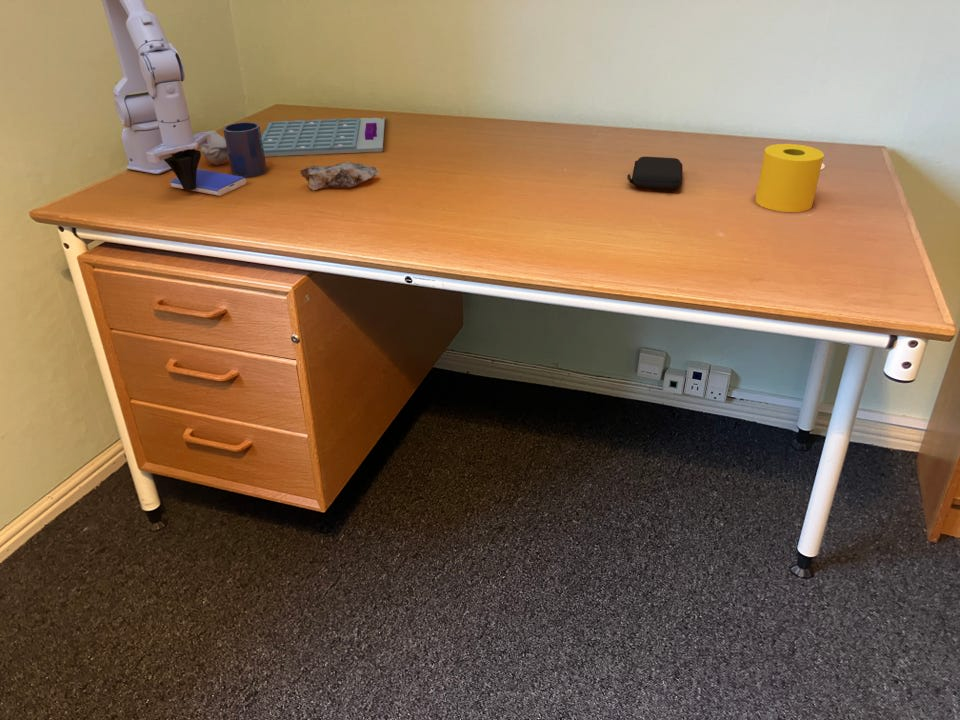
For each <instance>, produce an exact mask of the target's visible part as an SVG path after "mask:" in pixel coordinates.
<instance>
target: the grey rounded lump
mask: <svg viewBox="0 0 960 720" xmlns="http://www.w3.org/2000/svg"><path fill="white" fill-rule="evenodd" d="M205 132H206V133H210V137H211V143H209V144H206V143H205V144H203V145H200V146H198V148H199V149H200V153H201V154H203V156H204V158H205V159H206V160H207V162H209V163H210V164H212V165H214V166H215V165H216V166H220V165H223V164H225V163H226V162H227V161H228V160H229V156H228V151H227V146H226V141H225V137H224V136H222V135H220V134H219V133H218V132H217V131H216V130H208V131H205Z"/></svg>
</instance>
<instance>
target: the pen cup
mask: <svg viewBox="0 0 960 720" xmlns="http://www.w3.org/2000/svg"><path fill="white" fill-rule="evenodd" d="M222 130H223V135H224V136H223V137H224V138H225V141H226V146H227V151H228V156H229V157H228V161H229V166H230V171H231V175H234V176H240V177H245V178H256V177H259V176H263V175H264V174H266V173H267V172H268V167H267V163H266V162H267V161H266V157H265V155H264V149H263V143H262V132H261V126H260V124H259V123H257V122H252V121H242V122H241V121H240V122H235V123H230V124H227V125H225V126H224V127H222Z"/></svg>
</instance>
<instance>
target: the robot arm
mask: <svg viewBox="0 0 960 720" xmlns="http://www.w3.org/2000/svg"><path fill="white" fill-rule="evenodd" d="M101 2H102V7H103V10H104V13H105V16H106V20H107V24H108V28H109V32H110V35H111V37H112V41H113V45H114V49H115V52H116V56H117V60H118V63H119V67H120V70H121V73H122V77H121V79H120V80H119V81H118V82H117V83H116V85H115V86H114V87H113V89H112V91H113V92H112V95H113V99H114V107H115V111H116V114H117V117H118V120H119V121H120V123H121V125H122V126H123V129H122V131H121V141H122V142H121V143H122V145H123V149H124V153H125V156H126V160H127V163H128V165H127V166H125V169H126V170H131V171H136V172H143V173H148V174H153V175H160V174H162V173H165V172H169V171H170V170H172V171H173V173H174V174H175V176H176V178H177V177H178V179H179V181H180V183H181V185H182V187H183V189H182V190H185V191H190V192H192V191H191V190H194V189H196V174H197V169H198V166H199V163H200V161H201V160H200V159H201V158H202V152H201V150H198V149H197V148H199V146H200V145H203V144H205V143H206V144H209V143H211V137H210V133H206V132H207V131H200V132H198V133H194V131H193V127H192V123H191V118H190V113H189V108H188V104H187V100H186V94H185V90H184V85H183V83H182V82H184V81H185V78H186V77H185V68H184V65H183V64H184V63H183V61H182V58H181V56H180V53H179V51H178V50H177V49H176V48H175V47H174V45H173V44H172V43H171V42H169V41H168V39H167V36H166V34H165V32H164V29H163V27H162V25H161V22H160V21H159V18H158V16H157V15H156V14H154V13H153V12H150V11H149V10H148V7H147V5H146V1H145V0H101Z"/></svg>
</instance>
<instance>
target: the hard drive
mask: <svg viewBox="0 0 960 720" xmlns="http://www.w3.org/2000/svg"><path fill="white" fill-rule="evenodd" d="M246 184H247V180H246V178H245V177H240V176H234V175H232V174H228V173H222V172H217V171H211V170H207V169H200V168H197V174H196V189H194V190H191V191H190V192H198V193H201V194H202V193H203V194H207V195H213V196H218V197H220V196H223V195H226V194H227V193H229V192H232V191H233V190H236V189H238V188H240V187H242V186H244V185H246ZM170 187H171V188H175V189H179V190H184V189H183V187H182V185H181V183H180V181H179V179H178V177H177V176H176V178H173V179H171V180H170Z"/></svg>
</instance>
